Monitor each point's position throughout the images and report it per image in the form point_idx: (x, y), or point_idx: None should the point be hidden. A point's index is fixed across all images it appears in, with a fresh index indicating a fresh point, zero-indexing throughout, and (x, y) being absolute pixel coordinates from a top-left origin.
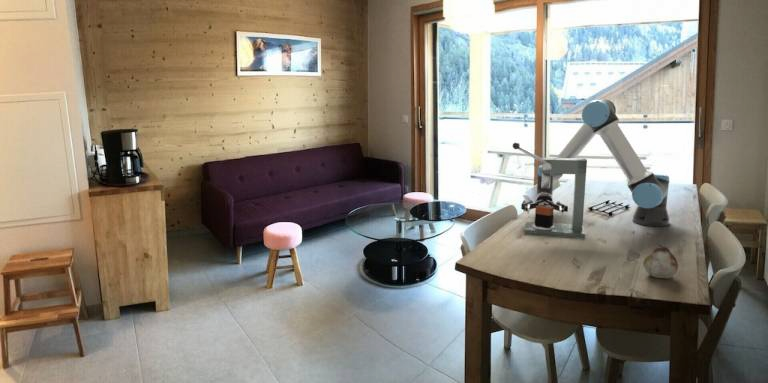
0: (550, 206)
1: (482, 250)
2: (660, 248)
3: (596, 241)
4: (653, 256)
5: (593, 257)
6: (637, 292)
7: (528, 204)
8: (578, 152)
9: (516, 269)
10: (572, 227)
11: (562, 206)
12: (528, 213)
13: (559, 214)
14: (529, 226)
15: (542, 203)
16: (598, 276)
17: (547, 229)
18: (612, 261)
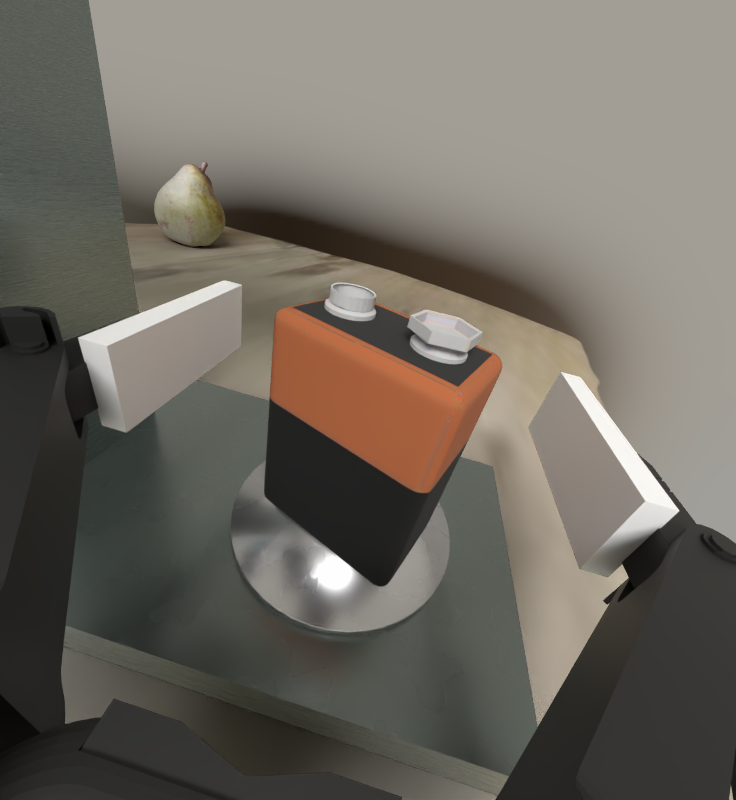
0: (328, 298)
1: (577, 374)
2: (201, 170)
3: None
4: (214, 194)
5: (264, 295)
6: (282, 245)
7: (690, 547)
8: None
9: (463, 307)
10: None
11: (53, 336)
12: (536, 426)
13: (231, 346)
14: (467, 535)
15: (428, 329)
16: (313, 268)
17: None
18: (229, 278)
